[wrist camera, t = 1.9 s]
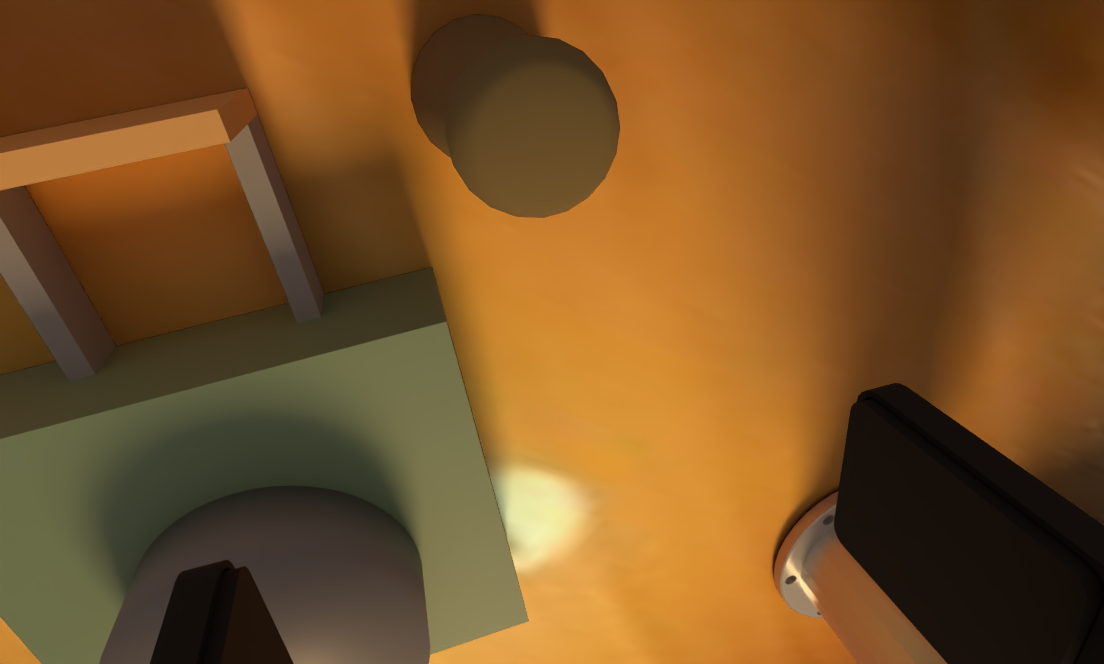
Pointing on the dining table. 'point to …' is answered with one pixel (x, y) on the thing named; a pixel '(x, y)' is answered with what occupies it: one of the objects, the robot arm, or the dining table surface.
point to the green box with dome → (237, 438)
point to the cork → (516, 114)
